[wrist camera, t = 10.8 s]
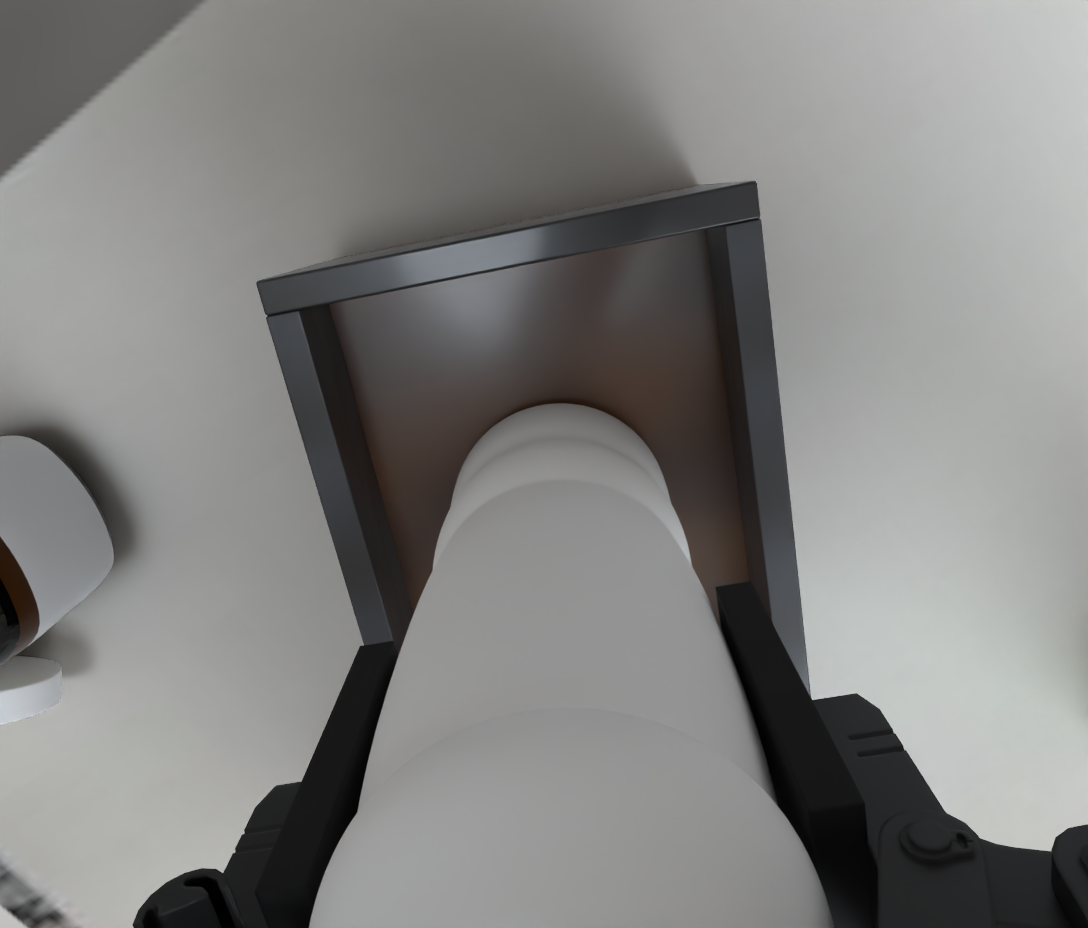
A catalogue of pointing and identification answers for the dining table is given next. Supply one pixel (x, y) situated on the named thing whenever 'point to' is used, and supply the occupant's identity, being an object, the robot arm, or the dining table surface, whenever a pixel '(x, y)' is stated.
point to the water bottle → (566, 717)
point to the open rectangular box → (545, 381)
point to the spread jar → (42, 565)
